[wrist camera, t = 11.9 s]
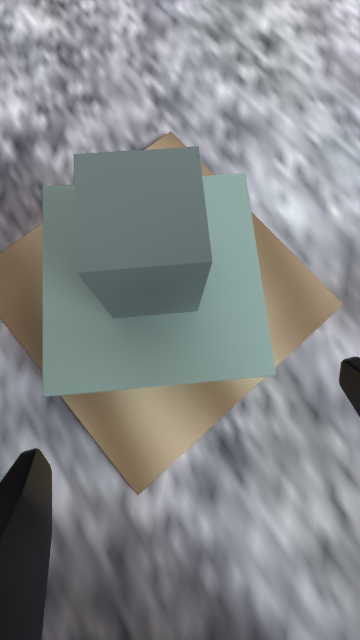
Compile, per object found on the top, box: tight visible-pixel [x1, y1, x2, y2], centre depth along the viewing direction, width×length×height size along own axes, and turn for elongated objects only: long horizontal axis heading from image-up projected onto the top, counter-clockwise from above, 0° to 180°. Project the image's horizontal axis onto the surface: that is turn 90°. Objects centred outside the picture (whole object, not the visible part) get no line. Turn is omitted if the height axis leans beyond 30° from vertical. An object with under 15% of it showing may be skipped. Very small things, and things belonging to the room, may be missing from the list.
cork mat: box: [0, 131, 343, 495], centre depth 18 cm, size 15×15×1 cm
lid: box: [43, 146, 276, 397], centre depth 14 cm, size 11×11×8 cm
